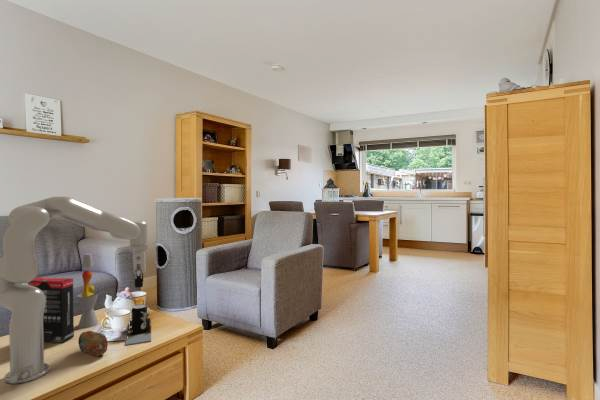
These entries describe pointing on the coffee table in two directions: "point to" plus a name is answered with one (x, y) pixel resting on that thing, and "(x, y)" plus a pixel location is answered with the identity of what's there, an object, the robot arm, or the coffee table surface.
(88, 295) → the lava lamp
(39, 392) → the coffee table surface
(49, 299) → the graphics card box
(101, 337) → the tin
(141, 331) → the beverage can
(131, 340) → the grey mat
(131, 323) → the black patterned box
